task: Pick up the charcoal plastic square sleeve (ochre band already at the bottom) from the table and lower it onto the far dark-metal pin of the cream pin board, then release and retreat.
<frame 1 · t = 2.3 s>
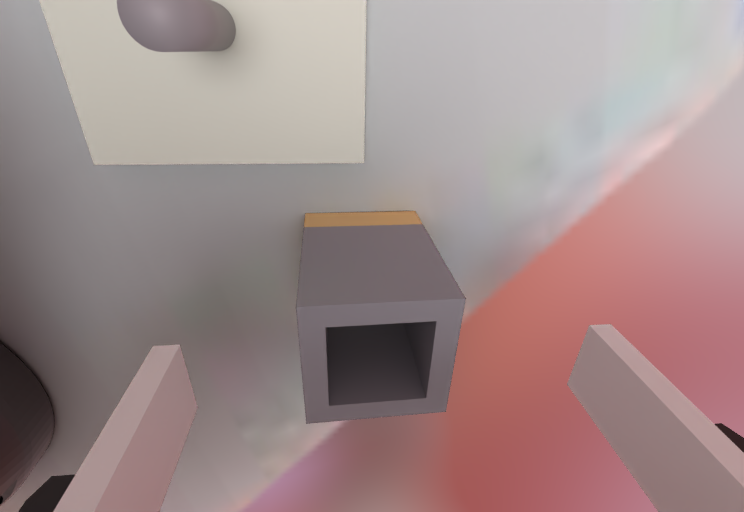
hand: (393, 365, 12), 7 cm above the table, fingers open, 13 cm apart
sleeve: (360, 260, 18), on the table
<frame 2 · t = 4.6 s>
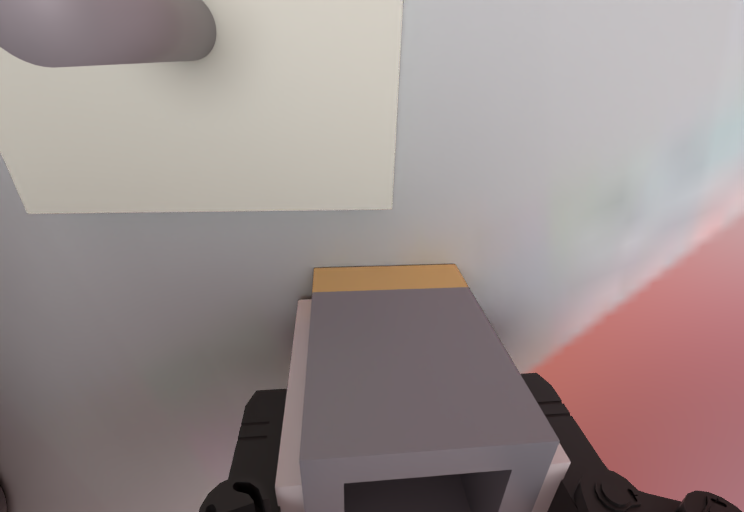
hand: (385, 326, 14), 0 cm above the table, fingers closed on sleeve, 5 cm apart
sleeve: (383, 322, 14), on the table, touching gripper
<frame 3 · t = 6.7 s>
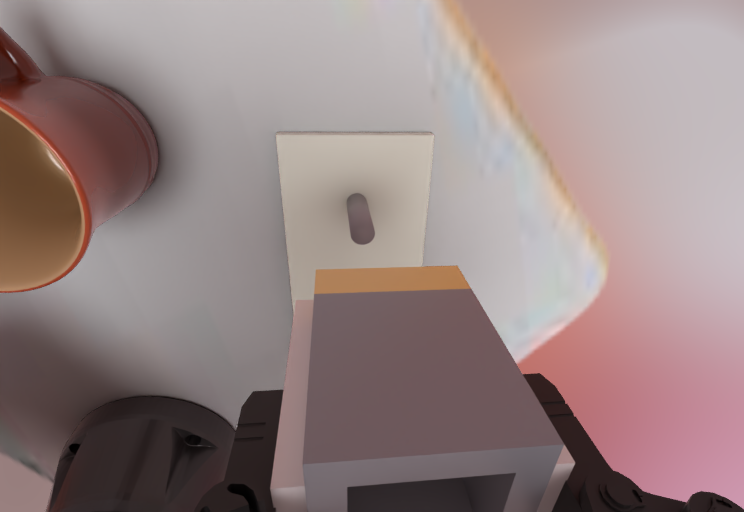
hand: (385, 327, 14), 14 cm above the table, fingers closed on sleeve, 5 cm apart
mug: (89, 113, 23), on the table
sleeve: (384, 324, 14), point 14 cm above the table, touching gripper
pin board: (355, 254, 29), on the table
when the fingers open (1 cm above the table, at t = 8.5 s): sleeve stays where it is, resting on pin board.
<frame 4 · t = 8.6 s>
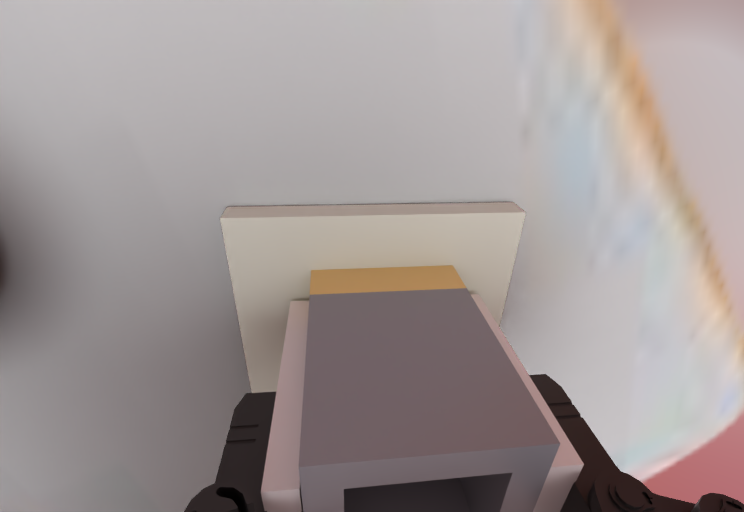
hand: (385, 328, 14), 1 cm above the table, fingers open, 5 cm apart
sleeve: (380, 324, 14), point 1 cm above the table, touching pin board
pin board: (370, 389, 17), on the table
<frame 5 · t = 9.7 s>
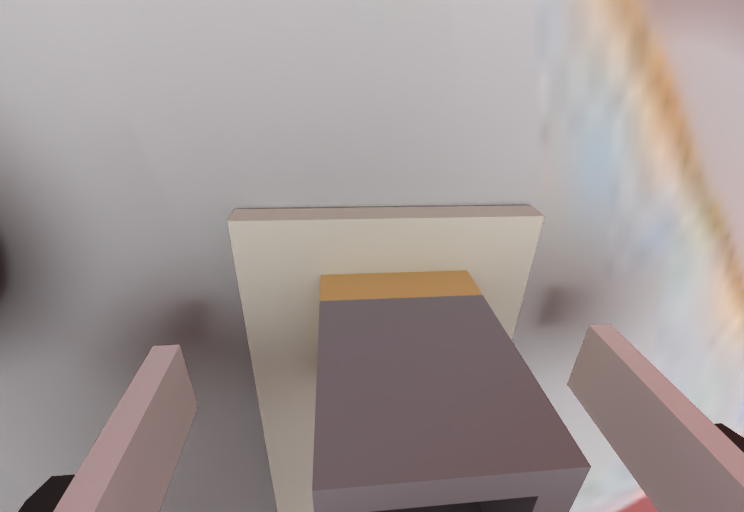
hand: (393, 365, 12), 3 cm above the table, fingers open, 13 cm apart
sleeve: (391, 330, 14), point 1 cm above the table, touching pin board
pin board: (379, 395, 17), on the table
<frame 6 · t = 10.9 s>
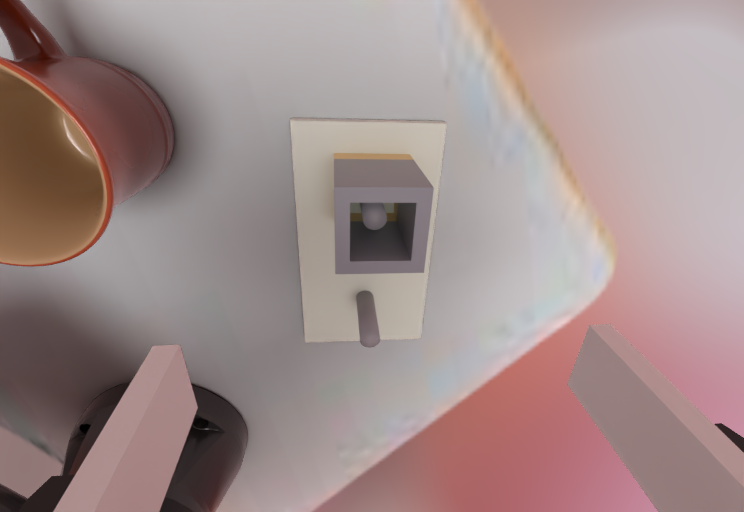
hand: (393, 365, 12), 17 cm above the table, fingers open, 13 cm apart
mug: (107, 96, 23), on the table
sleeve: (370, 189, 26), point 1 cm above the table, touching pin board
pin board: (365, 242, 29), on the table
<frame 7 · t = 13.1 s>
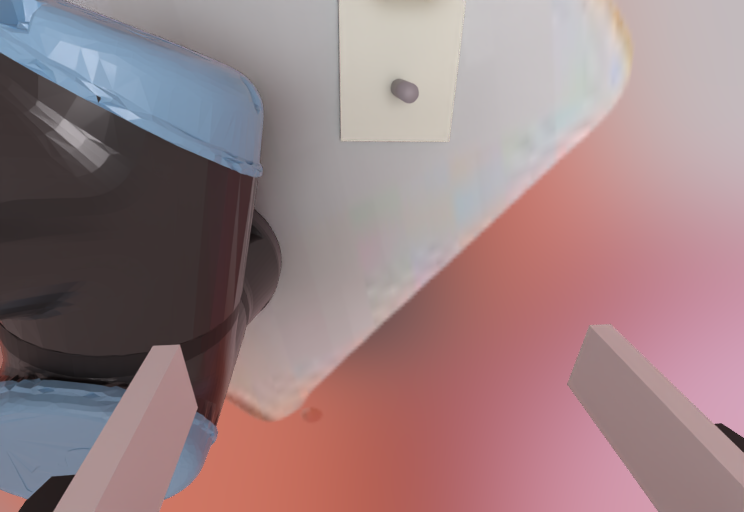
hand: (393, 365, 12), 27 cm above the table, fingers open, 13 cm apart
pin board: (399, 26, 31), on the table
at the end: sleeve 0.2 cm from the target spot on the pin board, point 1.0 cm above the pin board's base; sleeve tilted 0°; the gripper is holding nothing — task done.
